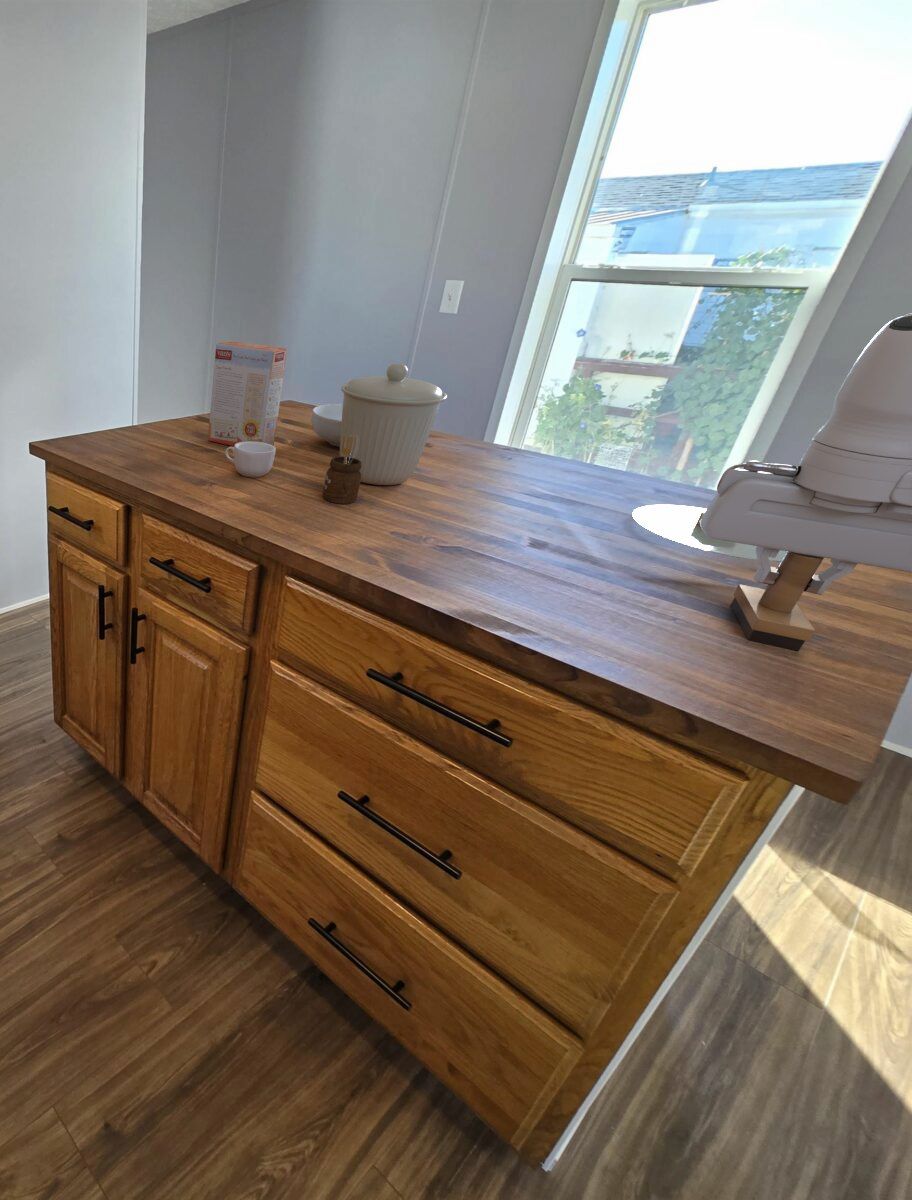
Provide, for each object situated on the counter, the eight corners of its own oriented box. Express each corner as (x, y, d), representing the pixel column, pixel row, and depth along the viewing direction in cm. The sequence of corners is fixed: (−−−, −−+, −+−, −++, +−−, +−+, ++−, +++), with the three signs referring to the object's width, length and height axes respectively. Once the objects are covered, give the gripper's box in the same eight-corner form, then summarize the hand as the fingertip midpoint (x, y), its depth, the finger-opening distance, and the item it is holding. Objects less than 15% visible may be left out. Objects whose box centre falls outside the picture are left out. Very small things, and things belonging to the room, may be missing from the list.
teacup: (278, 473, 128) (282, 446, 126) (262, 483, 123) (265, 455, 120) (232, 463, 133) (235, 437, 131) (214, 472, 128) (217, 445, 125)
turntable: (783, 530, 107) (788, 521, 106) (828, 583, 90) (834, 574, 89) (622, 504, 116) (625, 496, 116) (635, 548, 100) (639, 539, 99)
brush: (727, 604, 85) (766, 533, 80) (777, 614, 82) (821, 542, 78) (745, 640, 77) (790, 564, 72) (801, 652, 75) (851, 575, 70)
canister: (337, 457, 138) (357, 352, 127) (429, 472, 130) (458, 361, 120) (315, 482, 124) (335, 366, 114) (416, 500, 116) (448, 377, 106)
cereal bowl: (292, 442, 148) (297, 410, 144) (332, 429, 158) (338, 399, 154) (361, 459, 137) (368, 426, 133) (399, 445, 147) (407, 413, 143)
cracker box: (274, 448, 143) (289, 347, 133) (259, 454, 139) (273, 350, 129) (222, 436, 151) (231, 339, 141) (206, 441, 147) (215, 342, 137)
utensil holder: (359, 496, 117) (373, 430, 112) (352, 507, 113) (367, 438, 107) (325, 490, 120) (337, 425, 114) (318, 501, 115) (330, 433, 109)
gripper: (737, 465, 72) (681, 576, 79) (1005, 500, 64) (917, 621, 70) (725, 451, 77) (673, 556, 84) (973, 482, 68) (893, 597, 75)
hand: (786, 586), depth 77 cm, fingers closed on brush, 3 cm apart
